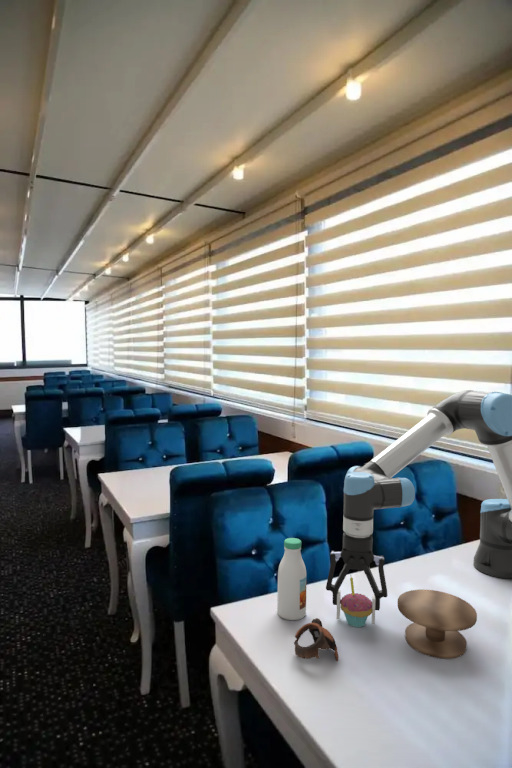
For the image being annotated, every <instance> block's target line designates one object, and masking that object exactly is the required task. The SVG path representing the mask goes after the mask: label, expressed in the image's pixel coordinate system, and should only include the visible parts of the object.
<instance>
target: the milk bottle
mask: <svg viewBox="0 0 512 768" xmlns="http://www.w3.org/2000/svg"><path fill="white" fill-rule="evenodd" d="M283 547H284V548H283V549H284V552H283V553H284V554H283V557H282V558H281V560H280V563H279V565H278V570H277V595H276V597H277V599H276V600H277V602H276V603H277V605H276V607H277V608H276V609H277V611H276V612H277V614H278V616H279V617H280V618H282V619H284V620H287V621H298V620H302V619H303V618H304V617H305V615H306V614H307V569H306V565H305V562H304V560H303V558H302V552H301V550H302V540H301V539H299V538H295V537H288V538H286V539H285V540H284V542H283Z"/></svg>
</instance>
